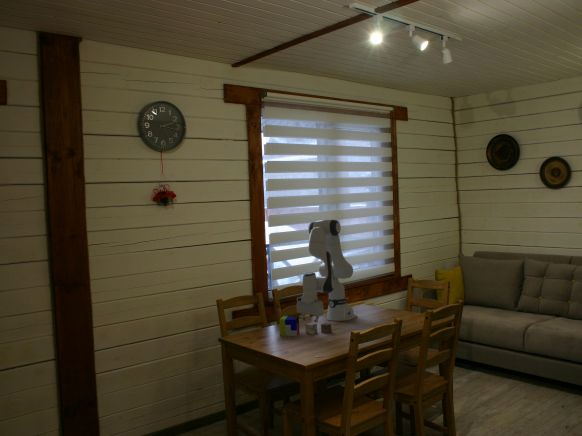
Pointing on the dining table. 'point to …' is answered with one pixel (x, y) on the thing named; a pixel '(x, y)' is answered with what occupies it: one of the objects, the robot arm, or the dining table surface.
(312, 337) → the dining table surface
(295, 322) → the puzzle toy
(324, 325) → the block walnut
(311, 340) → the dining table surface
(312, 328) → the block birch
